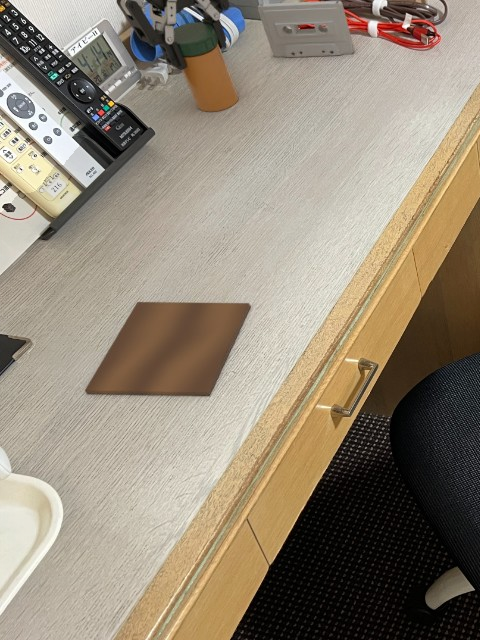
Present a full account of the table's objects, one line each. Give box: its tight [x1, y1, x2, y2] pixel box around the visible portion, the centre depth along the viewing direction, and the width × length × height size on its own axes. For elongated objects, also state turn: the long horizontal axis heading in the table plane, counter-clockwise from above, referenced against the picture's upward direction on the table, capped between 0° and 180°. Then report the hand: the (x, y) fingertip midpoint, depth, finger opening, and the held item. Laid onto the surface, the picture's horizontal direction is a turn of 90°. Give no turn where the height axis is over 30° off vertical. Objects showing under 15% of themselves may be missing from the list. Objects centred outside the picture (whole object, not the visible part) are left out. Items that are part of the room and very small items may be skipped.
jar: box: [181, 44, 239, 113], centre depth 110 cm, size 6×6×10 cm
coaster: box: [84, 301, 251, 397], centre depth 82 cm, size 12×12×1 cm
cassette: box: [257, 0, 355, 58], centre depth 120 cm, size 12×2×8 cm, turn 92°
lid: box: [174, 21, 218, 56], centre depth 107 cm, size 6×6×2 cm
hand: (200, 56), depth 109 cm, fingers closed on lid, 5 cm apart
